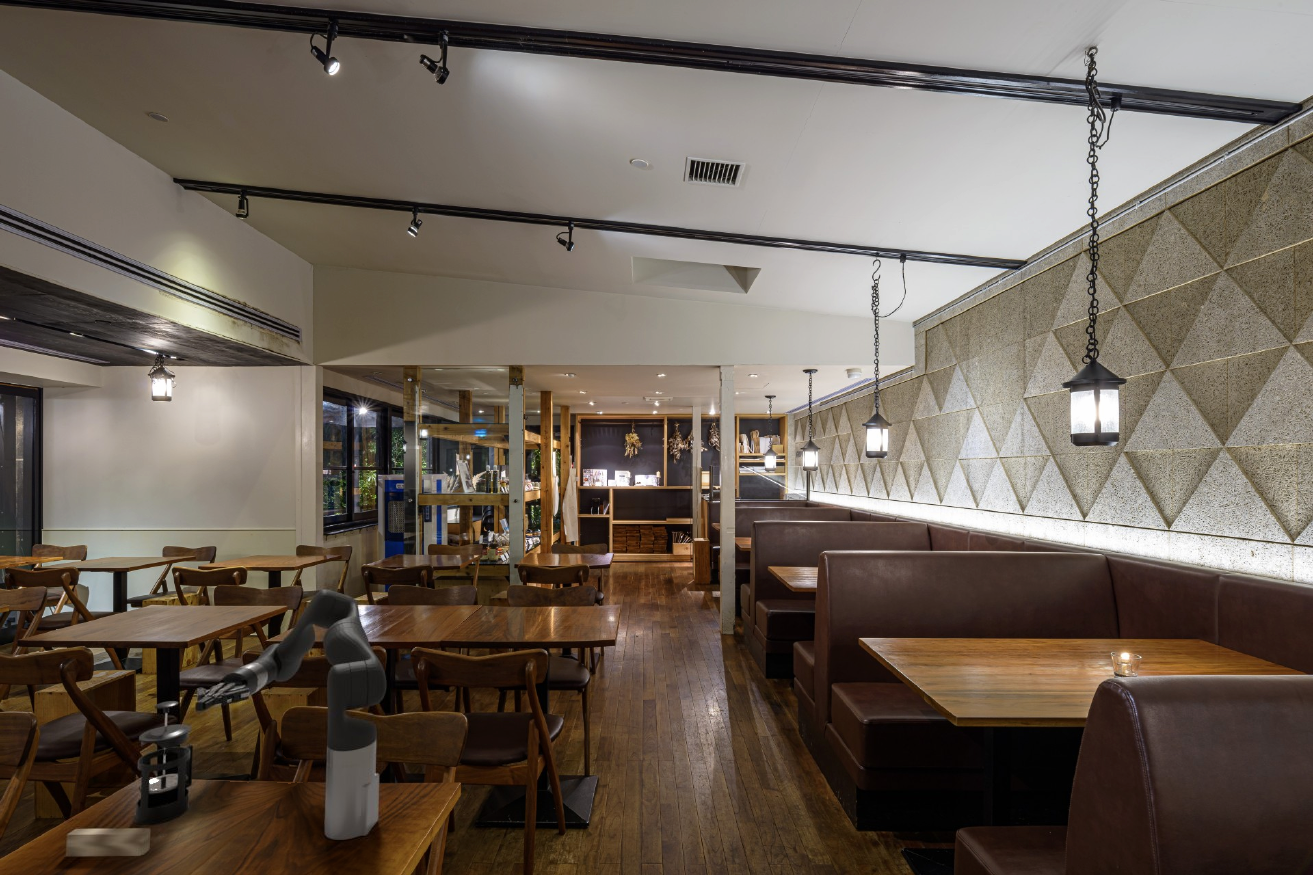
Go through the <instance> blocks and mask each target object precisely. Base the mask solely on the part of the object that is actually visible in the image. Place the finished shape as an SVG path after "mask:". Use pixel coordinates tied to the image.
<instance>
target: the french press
mask: <svg viewBox="0 0 1313 875" xmlns="http://www.w3.org/2000/svg"><path fill="white" fill-rule="evenodd" d="M176 706H179V701H177V700H176V701H175V700H170V701H169V700H168V701H163V702H161V703H160V702H159V703H158V704H156V705H154V707H153V708H154V709H157V710H163V714H164V726H160V727H159V726H158V727H156V728H153V729H152V728H151V729H149V730H146V731H145V732H142V734H140V735H139V737H138V740H139V741H140V742H141V743H140V746H141V747H143V746H144V745H146V744H147V743H151V744H154V745H156V746H158V747H161V748H162V749H158V750H155V751H151V752H148V753H146V754H145V755H142V756H140V757H139V759H138V760H137V769H138V771H141V779H140V780H141V783H140V785H139V786H138V791H139V793H140V798H139V799H137V801H136V803H135V804H136V805H135V815H134V817H133V820H134V823H135V824H137V825H139V826H140V825H141V826H151V825H152V826H153V825H157V824H162V823H167V822H170V821H172V820H174V819H177V818H180V817H181V816H182V815H184V814H186V812H187V811H188V810H189V809H190V803H189V796H190V794H189V793H190V791H189V789H188V788H190V787H191V786H192V785H193V761H194V745H192V744H185V743H186V742H187V741H188V740H189V733H190V732H191V730H192V727H191V726H190V725H189V724H188V725H187V724H170V725H168V714H169V713H170V709H171V708H174V707H176ZM182 744H185V745H183V746H180V745H182ZM174 754H177V759H174V760H171V761H168V762H166V756H167V755H174ZM162 756H163V760H162V762H163V763H157V764H156V763H155V764H151V762H152V761H151V760H152V759H154V758H157V757H162ZM175 767H177V769H176V770H177V772H176V773H168V774H166V770H169V769H172V768H175ZM159 771H162V775H159V776H156V777H153V778H151V772H159Z"/></svg>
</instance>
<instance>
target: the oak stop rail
mask: <svg viewBox="0 0 1313 875" xmlns="http://www.w3.org/2000/svg"><path fill="white" fill-rule="evenodd" d="M150 844H151V828H149V827H148V828H147V827H140V828H139V827H138V828H136V827H134V828H131V827H130V828H128V827H127V828H75V829H74V830H72V831H70V832H69V833H67V834H66V845H65V846H66V847H65V850H66V851H65V857H120V856H121V857H132V856H133V857H137V856H138V857H141V855H142V856H143V855H145V854H146V853H147V852H149V851H150V847H151V845H150Z"/></svg>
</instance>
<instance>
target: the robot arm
mask: <svg viewBox="0 0 1313 875" xmlns="http://www.w3.org/2000/svg"><path fill="white" fill-rule="evenodd" d="M314 626H316V627H317V628H318V627H319V628H322V629H326V632H325V633H324V635H323V639H322V645H323V650H324V654H325V657H326V660H327V662H328V663H329V664H331V665H332V667H330V670H329V671H328V674H327V680H326V685H327V686H326V687H327V688H326V696H327V739H326V740H327V741H326V767H325V768H326V769H325V770H326V774H325V801H324V802H325V803H324V804H325V805H324V808H325V809H324V835H325V836H326V837H327V838H328V839H331V840H337V841H340V840H341V841H344V840H350V839H354V838H357V837H361V836H362V837H363V836H368V834H369V833H370V832H371V831H372V828H374V826H375V825H376V824H377V822H378V820H379V796H380V795H379V794H380V774H379V773H376V768H377V766H376V764H377V732H378V731H377V726H376V724H375V723H374V722H373V721H370V720H367V719H362V718H361V719H360V718H355V717H352V716H350V715H348V714H346V712H348V711H352V710H357V709H364V708H369V707H373V706H375V705H378V704H379V703H381V701H382V700H383V699H384V697H385V695H386V691H387V678H386V672H385V669H384V667H383V665H382V663H381V661H380V660H379V658H378V656H377V655H376V654H375V652H374V651H373V649H372V648H371V645H370V642H369V638H368V636H367V633H366V631H365V628H364V627H363V624H362V621H361V617H360V609H359V606H358V601H357V600H356V599H355V598H353V597H352V596H350V595H347V594H344V593H340V592H337V591H333V590H331V589H324V588H323V589H322V590H319V591H318V592H316V594H314V596H313V597H312V598H311V600H310V601H309V603H308V605H307V606H306V608H305V609H304V610H303V612H302V614H301V615H300V617H299V618H298V620H297V622H296V623H295V625H294V627H293V628H292V630H291V631H290V632H289V633H288V634H287V635H286V636H285V637H284V638H283V640H282V641H281V642H280V643H273V644H271V645H269V646H268V647H266V648H265V649H264V650H263V652H261V653H260V655H259V656H258V658H257V659H256V660H253V661H252V662H250V663H248V664H245V665H242V666H241V667H238V668H236V669H235V670H232V671H231V672H229V673H227V674H226V675H224V676H223V677H222V678H221V679H220V681H219V683H218V684H217V685H213V686H211V687H210V688H209V689H206V688H204V687H198V688H196V702H195V703H194V704H195V705H194V706H195V712H205V711H206V710H209V709H210V708H212V707H215V708H216V707H217V706H224V707H225V706H227V705H231V704H235V703H236V704H237V703H241V702H242V701H243V702H244V701H247V700H250V697H251V695H252V696H253V694H255V693H257V692H258V691H260V690H261V689H262V688H264V687H265V686H267V685H269V684H271V682H272V681H274V680H275V681H276V682H277V683H279V682H283V683H284V682H286V681H288V680H289V679H291V678H293V676H295V675H296V673H297V672H298V670H299V668H300V667H301V664H302V661H303V658H304V657H305V655H306V654H307V653H308V652H309V651H311V649H312V647H313V646H314V644H315V642H316V632H315V627H314Z"/></svg>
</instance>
